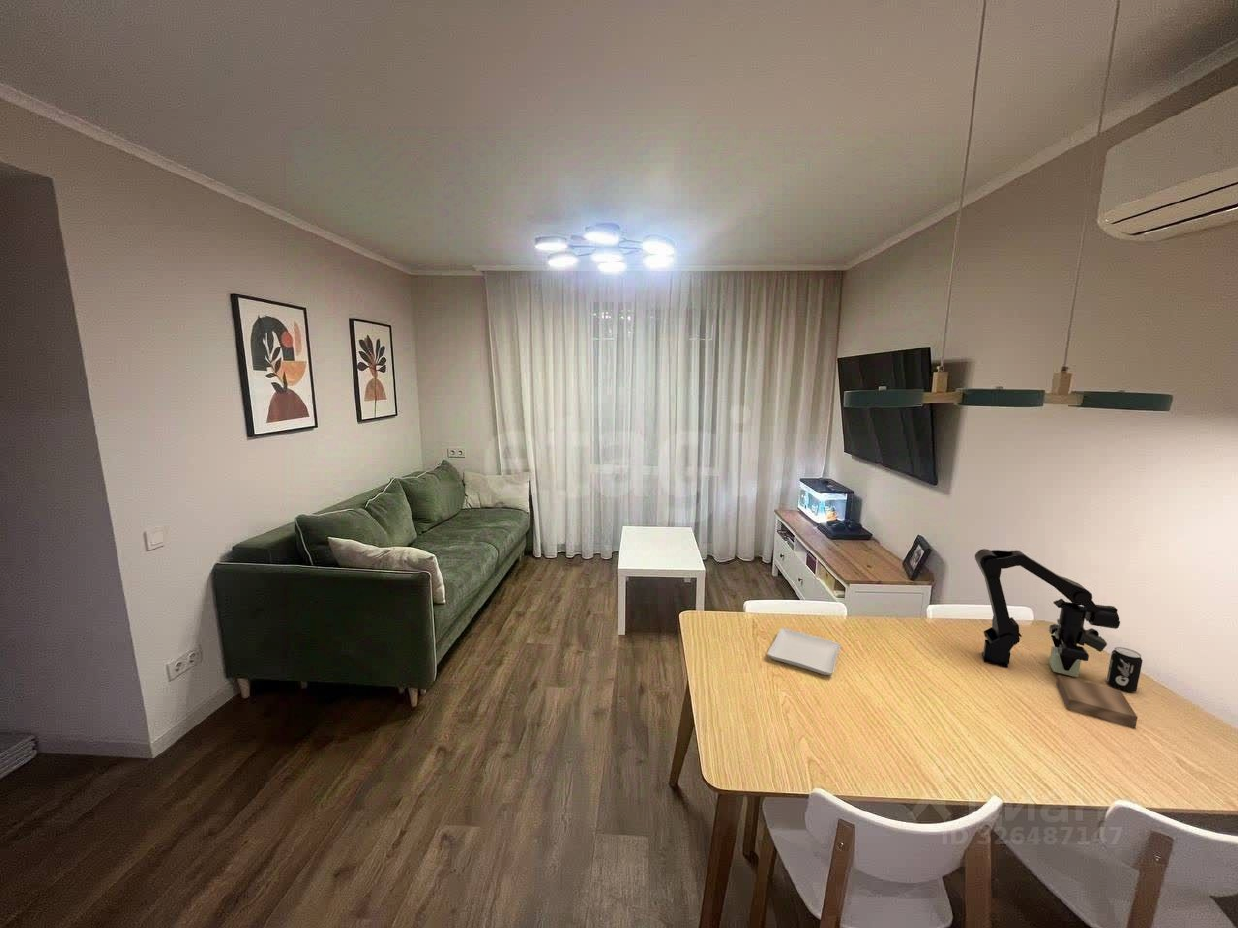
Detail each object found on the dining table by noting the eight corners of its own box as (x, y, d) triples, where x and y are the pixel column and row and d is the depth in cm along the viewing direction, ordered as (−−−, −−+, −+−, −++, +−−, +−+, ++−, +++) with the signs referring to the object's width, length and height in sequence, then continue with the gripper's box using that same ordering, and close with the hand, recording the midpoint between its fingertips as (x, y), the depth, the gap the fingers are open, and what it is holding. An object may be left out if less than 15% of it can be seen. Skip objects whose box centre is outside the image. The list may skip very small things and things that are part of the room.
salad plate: (832, 682, 150) (833, 672, 150) (765, 662, 161) (766, 653, 161) (840, 651, 168) (841, 642, 168) (780, 634, 179) (780, 626, 179)
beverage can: (1142, 694, 144) (1149, 658, 142) (1117, 691, 145) (1124, 656, 143) (1124, 681, 150) (1131, 647, 148) (1100, 678, 152) (1106, 644, 150)
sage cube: (1053, 671, 154) (1055, 654, 153) (1049, 662, 158) (1051, 646, 157) (1077, 677, 150) (1081, 660, 149) (1073, 668, 155) (1076, 651, 154)
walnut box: (1066, 711, 137) (1068, 698, 137) (1056, 686, 149) (1058, 674, 148) (1135, 730, 130) (1137, 717, 129) (1118, 702, 141) (1120, 690, 141)
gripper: (1116, 641, 139) (1107, 689, 142) (1097, 616, 155) (1089, 659, 157) (1065, 631, 145) (1057, 676, 148) (1052, 607, 161) (1045, 649, 163)
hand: (1063, 665), depth 154 cm, fingers closed on sage cube, 6 cm apart
